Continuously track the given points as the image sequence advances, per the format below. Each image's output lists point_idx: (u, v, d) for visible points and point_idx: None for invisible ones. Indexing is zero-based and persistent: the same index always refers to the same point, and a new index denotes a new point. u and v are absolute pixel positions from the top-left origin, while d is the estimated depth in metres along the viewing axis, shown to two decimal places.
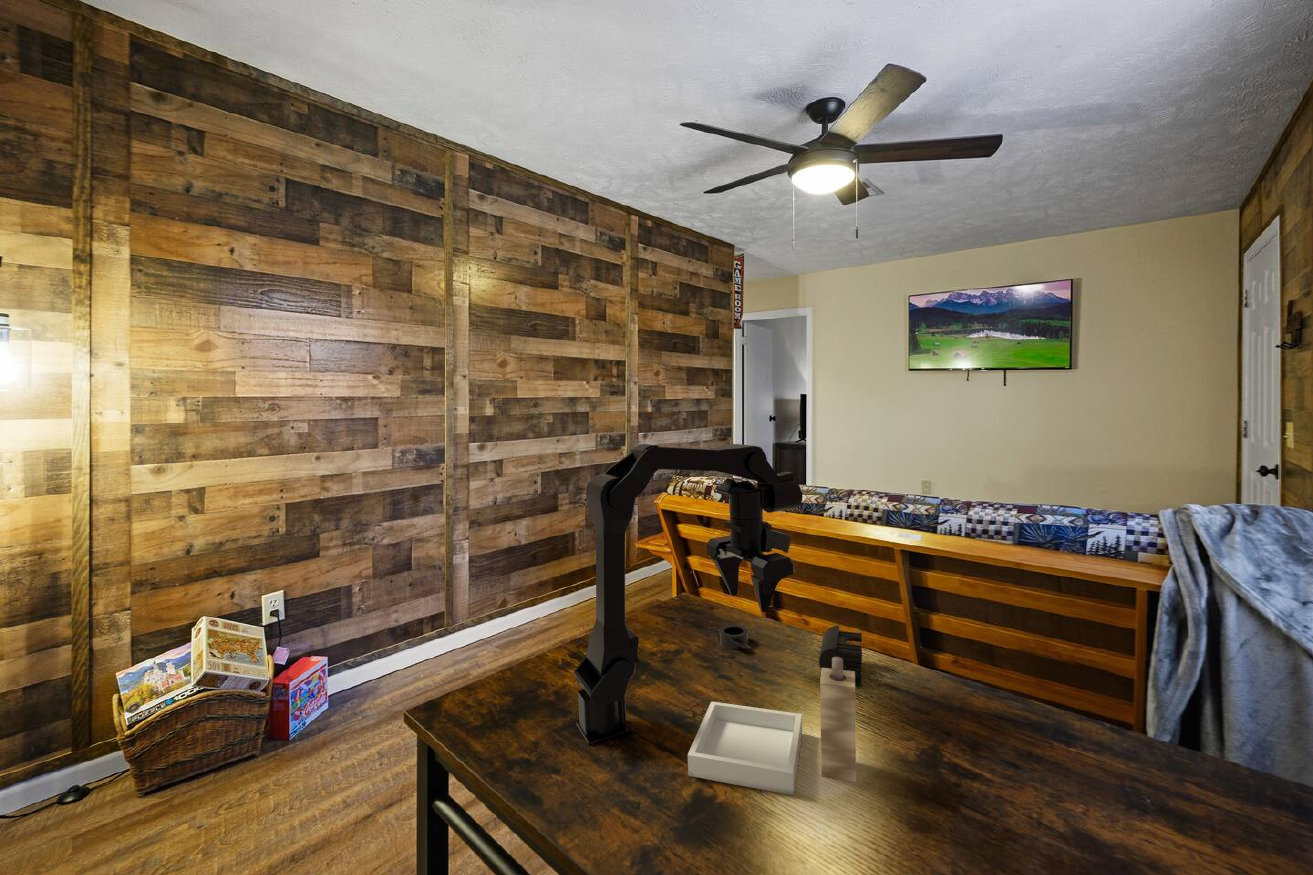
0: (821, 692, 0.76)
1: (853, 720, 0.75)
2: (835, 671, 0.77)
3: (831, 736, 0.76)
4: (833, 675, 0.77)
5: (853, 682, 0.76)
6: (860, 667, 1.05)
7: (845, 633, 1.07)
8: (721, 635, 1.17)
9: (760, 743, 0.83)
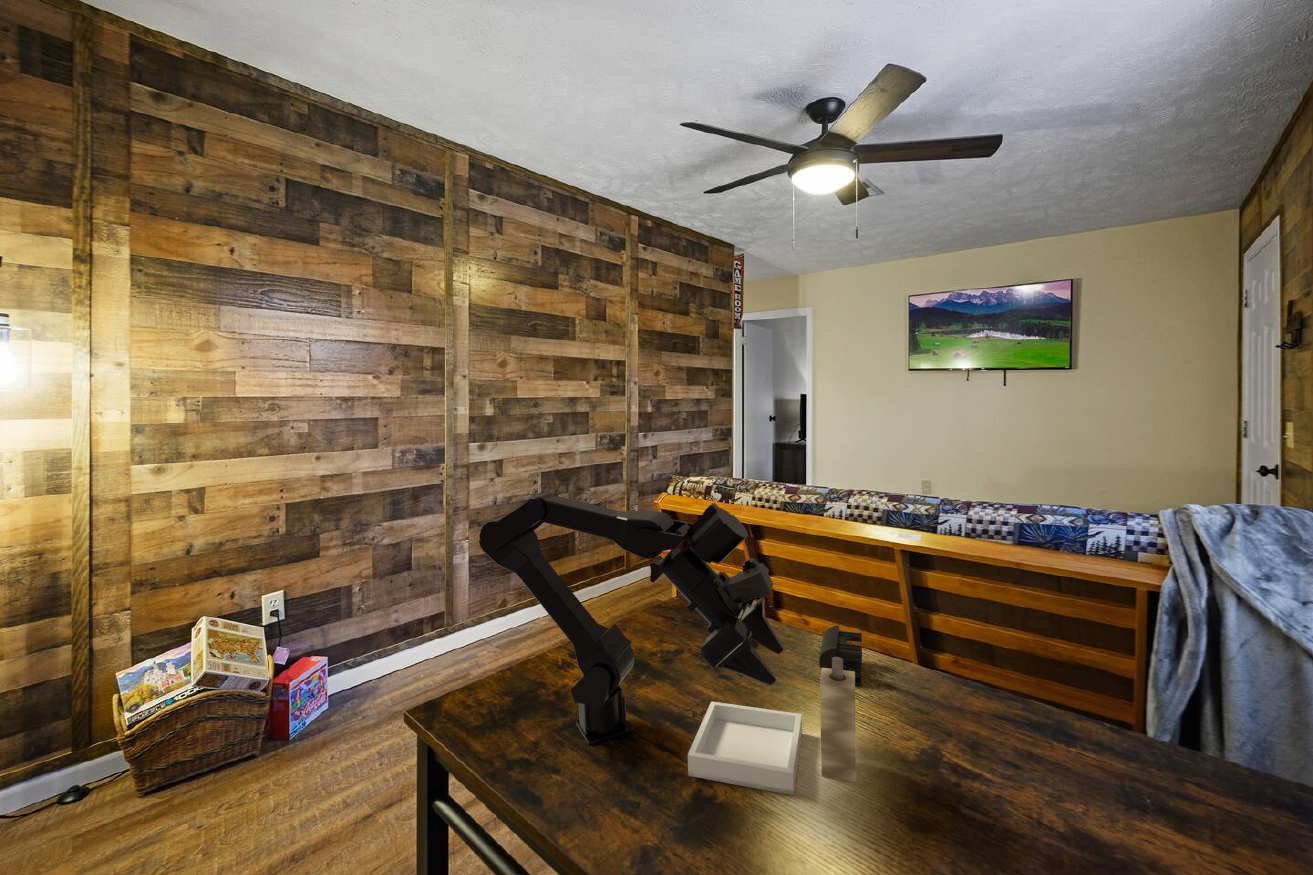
0: (821, 692, 0.76)
1: (853, 720, 0.75)
2: (835, 671, 0.77)
3: (831, 736, 0.76)
4: (833, 675, 0.77)
5: (853, 682, 0.76)
6: (860, 667, 1.05)
7: (845, 633, 1.07)
8: None
9: (760, 743, 0.83)
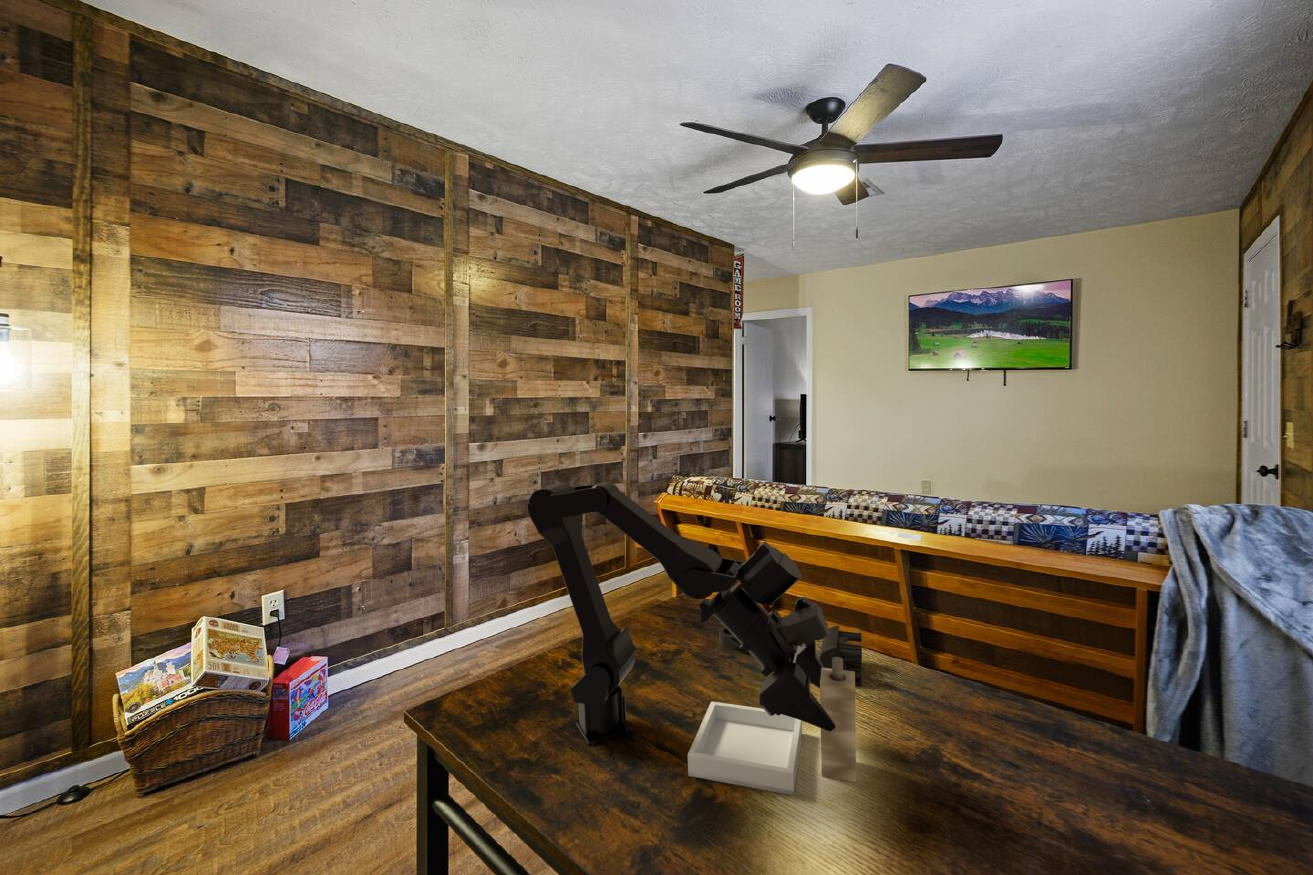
0: (821, 692, 0.76)
1: (853, 720, 0.75)
2: (835, 671, 0.77)
3: (831, 736, 0.76)
4: (833, 675, 0.77)
5: (853, 682, 0.76)
6: (860, 667, 1.05)
7: (845, 633, 1.07)
8: (720, 635, 1.17)
9: (760, 743, 0.83)
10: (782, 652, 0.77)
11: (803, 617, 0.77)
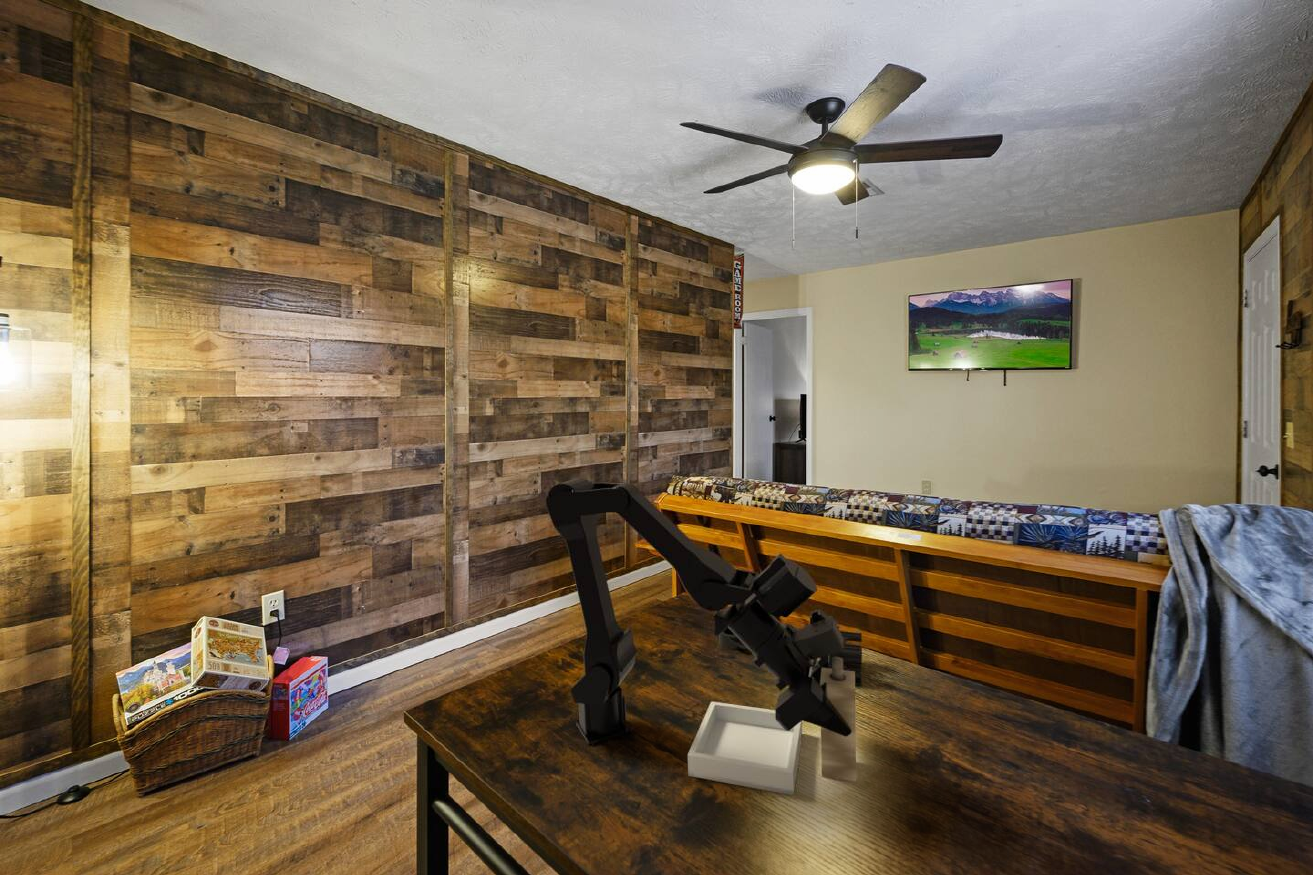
0: None
1: (853, 720, 0.75)
2: (835, 671, 0.77)
3: (831, 736, 0.76)
4: (833, 675, 0.77)
5: (853, 682, 0.76)
6: (860, 667, 1.05)
7: (845, 633, 1.07)
8: (720, 635, 1.17)
9: (760, 743, 0.83)
10: (797, 666, 0.76)
11: (819, 631, 0.76)
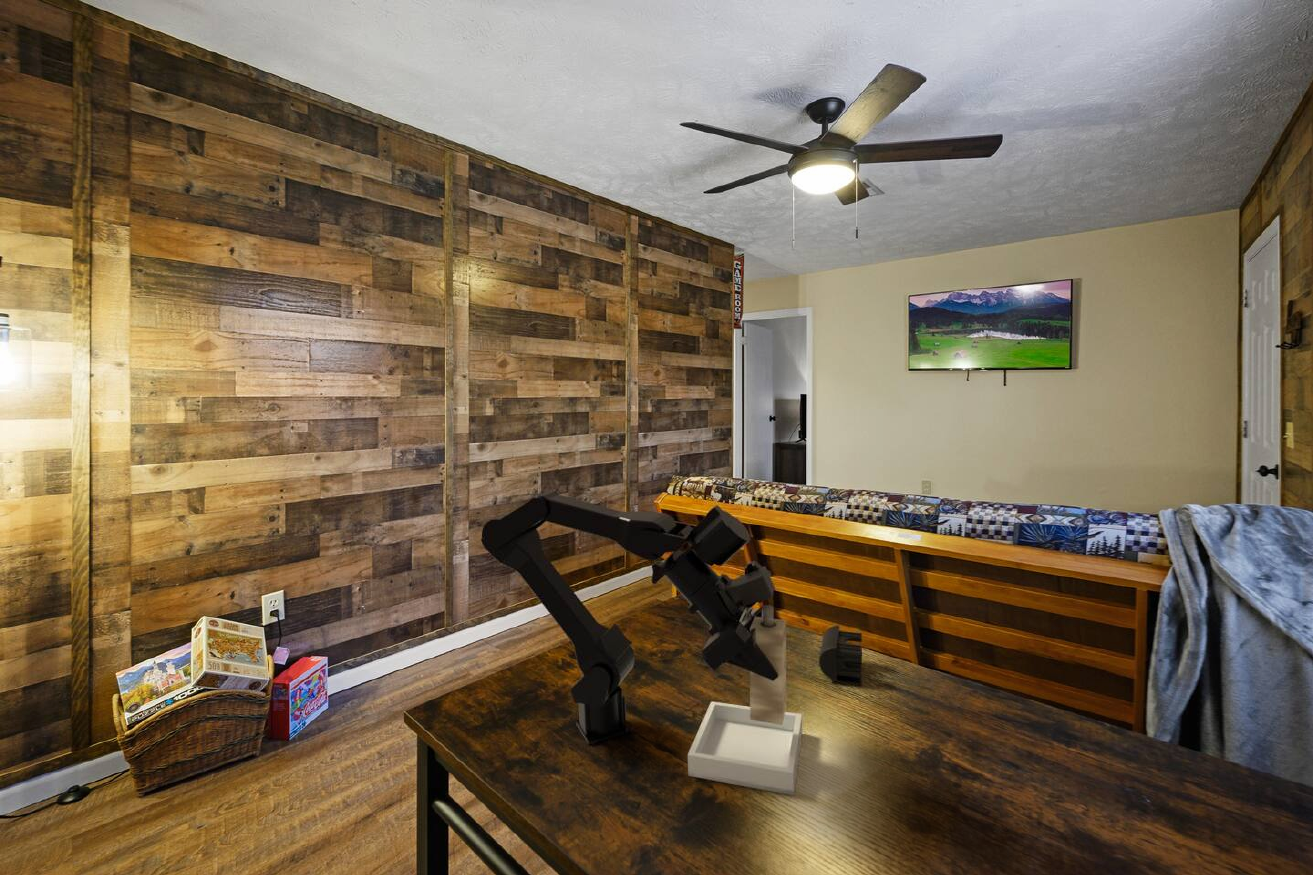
0: None
1: (780, 665, 0.77)
2: (765, 618, 0.79)
3: (760, 681, 0.78)
4: (764, 622, 0.79)
5: (782, 628, 0.78)
6: (860, 667, 1.05)
7: (845, 633, 1.07)
8: None
9: (760, 743, 0.83)
10: (729, 612, 0.79)
11: (750, 579, 0.79)
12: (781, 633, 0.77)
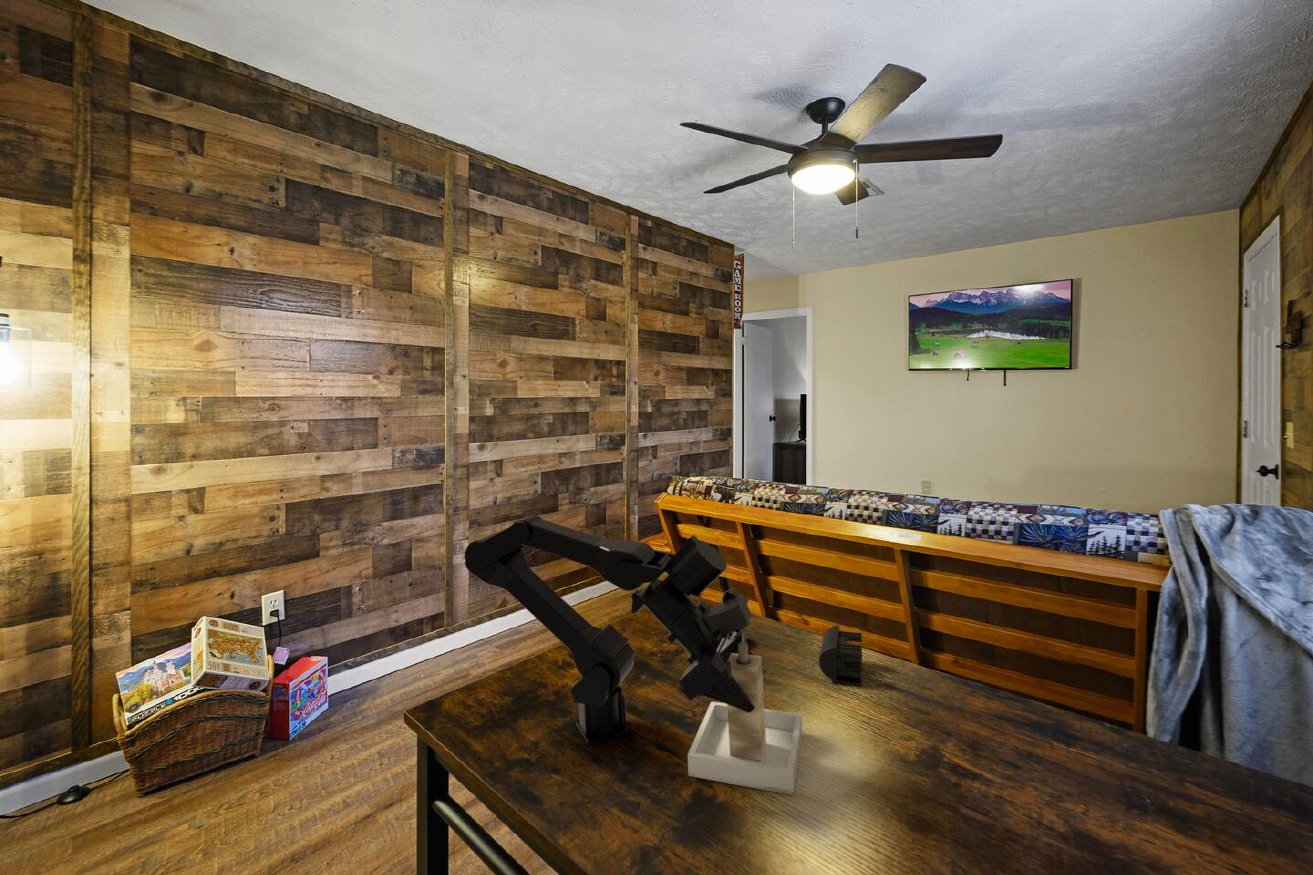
0: None
1: (756, 701, 0.79)
2: (740, 655, 0.81)
3: (737, 717, 0.80)
4: (739, 659, 0.81)
5: (756, 665, 0.80)
6: (860, 667, 1.05)
7: (845, 633, 1.07)
8: None
9: None
10: (706, 641, 0.80)
11: (726, 608, 0.80)
12: (755, 670, 0.79)
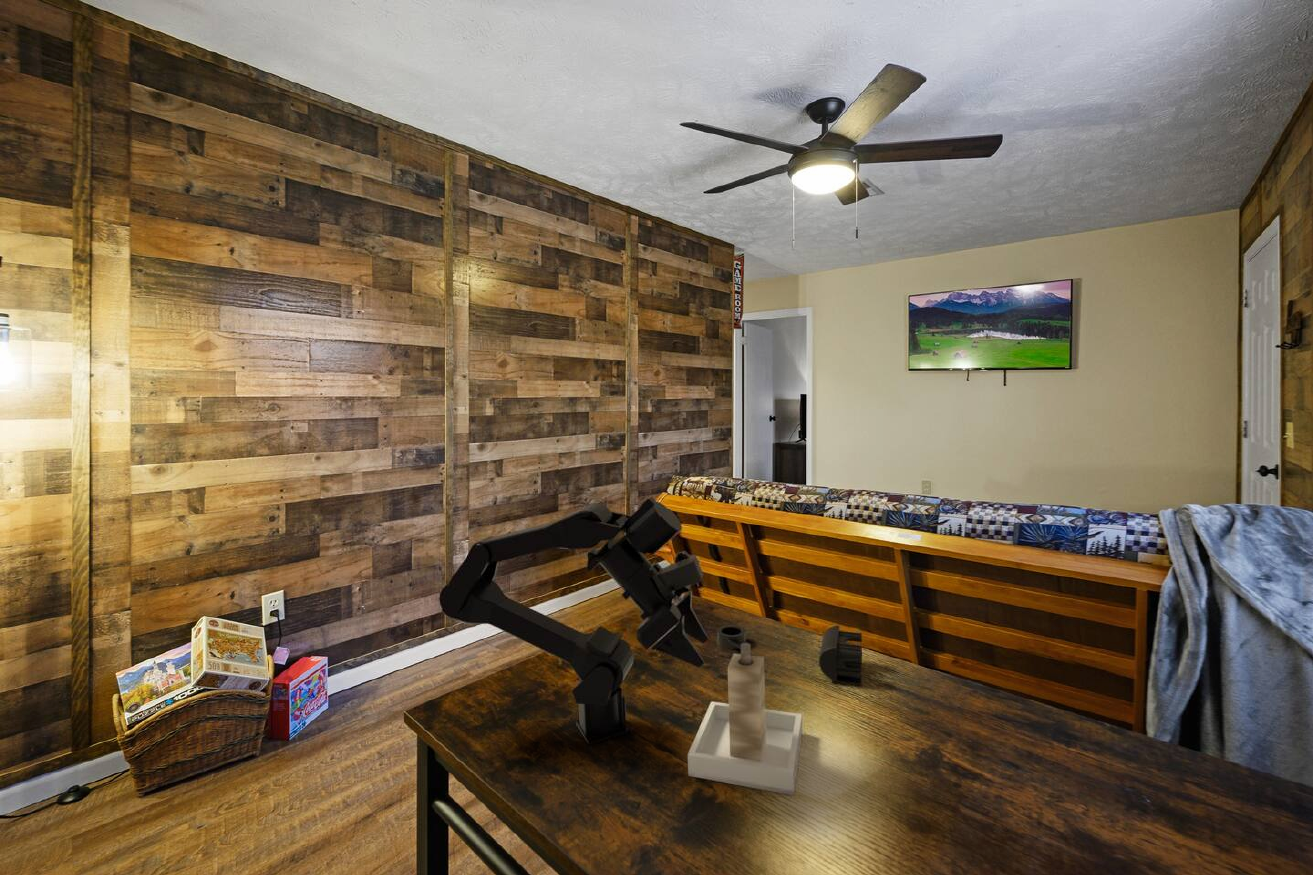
0: (729, 676, 0.80)
1: (758, 702, 0.79)
2: (743, 656, 0.81)
3: (738, 718, 0.80)
4: (741, 660, 0.81)
5: (759, 666, 0.80)
6: (860, 667, 1.05)
7: (845, 633, 1.07)
8: (718, 635, 1.17)
9: None
10: (661, 596, 0.83)
11: (682, 564, 0.84)
12: (758, 671, 0.78)
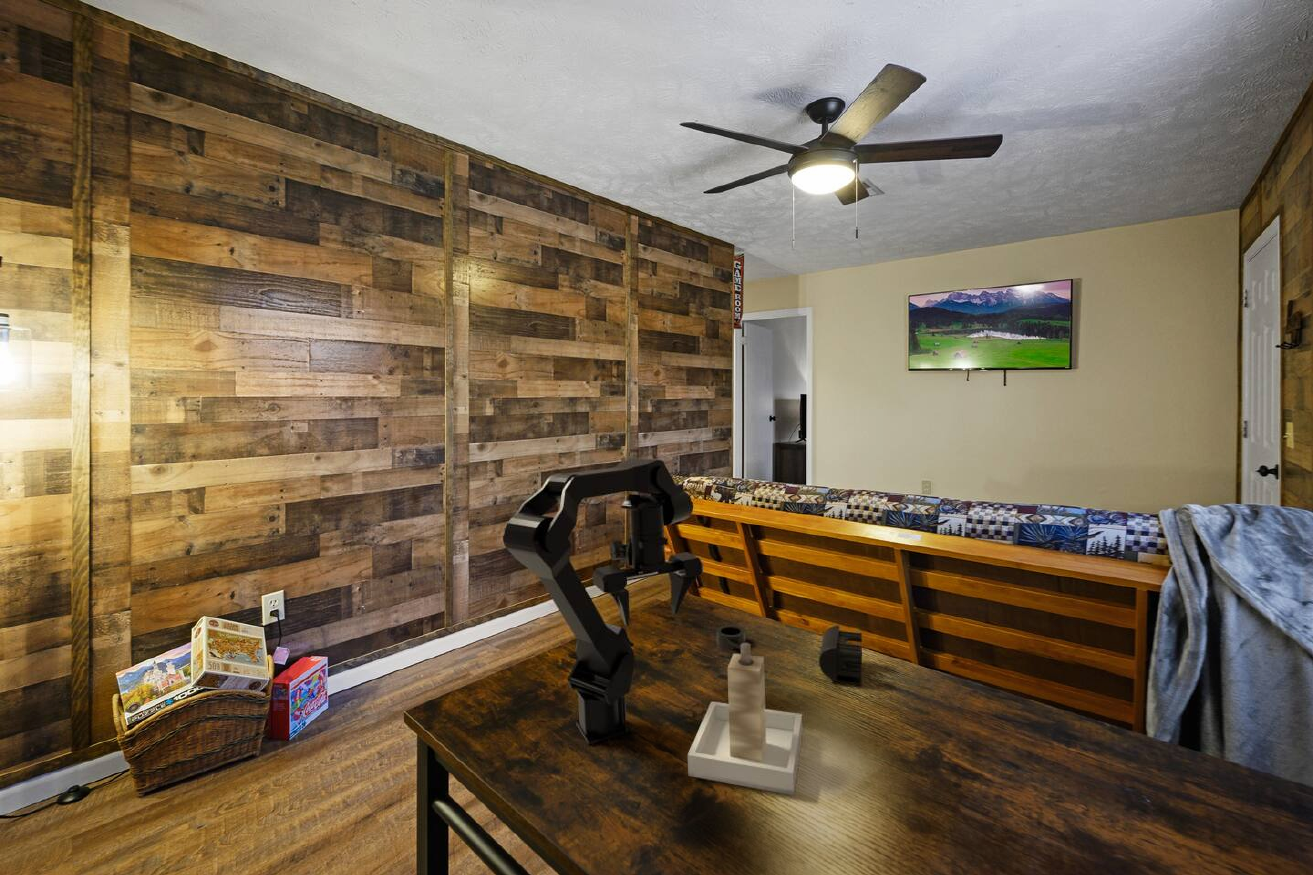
0: (729, 676, 0.80)
1: (758, 702, 0.79)
2: (743, 656, 0.81)
3: (738, 718, 0.80)
4: (741, 660, 0.81)
5: (759, 666, 0.80)
6: (860, 667, 1.05)
7: (845, 633, 1.07)
8: (718, 635, 1.17)
9: None
10: None
11: None
12: (758, 671, 0.78)
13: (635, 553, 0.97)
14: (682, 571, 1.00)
